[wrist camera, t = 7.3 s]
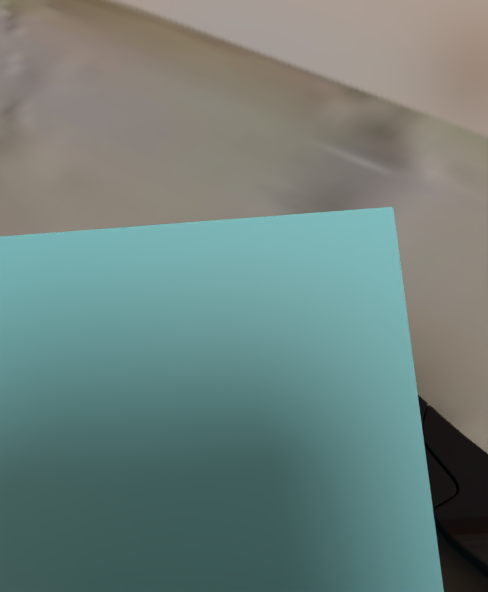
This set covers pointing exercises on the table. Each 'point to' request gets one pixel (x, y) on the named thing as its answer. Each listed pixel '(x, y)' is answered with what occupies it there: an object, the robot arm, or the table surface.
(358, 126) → the table surface
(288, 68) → the table surface
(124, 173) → the table surface
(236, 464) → the teal pillar
